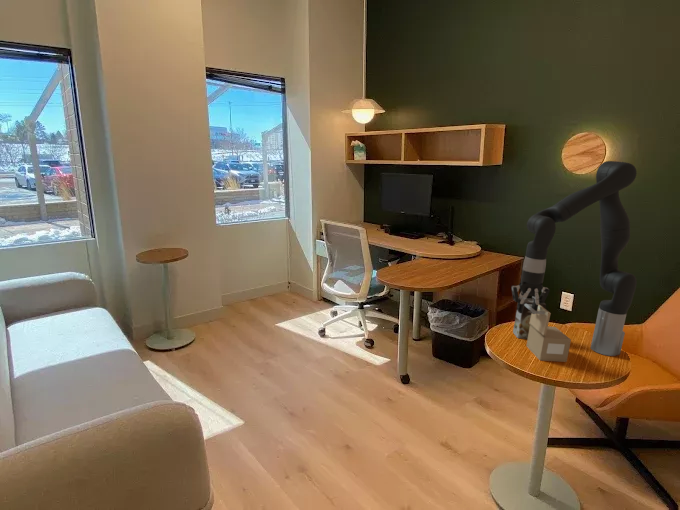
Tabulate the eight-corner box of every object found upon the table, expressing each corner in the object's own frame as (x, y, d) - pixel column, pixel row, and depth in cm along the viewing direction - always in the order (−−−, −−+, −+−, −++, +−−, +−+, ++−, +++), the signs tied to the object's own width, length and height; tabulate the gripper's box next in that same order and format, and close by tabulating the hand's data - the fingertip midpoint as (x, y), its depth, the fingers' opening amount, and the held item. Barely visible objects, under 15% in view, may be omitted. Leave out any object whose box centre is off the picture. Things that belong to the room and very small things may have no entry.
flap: (536, 302, 162) (522, 300, 162) (551, 313, 151) (536, 311, 151) (531, 324, 165) (517, 323, 165) (545, 337, 153) (530, 335, 153)
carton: (551, 347, 167) (555, 326, 165) (566, 362, 155) (571, 339, 153) (526, 346, 167) (530, 325, 165) (539, 360, 155) (544, 338, 153)
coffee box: (517, 338, 174) (523, 302, 170) (512, 332, 180) (518, 297, 176) (539, 340, 173) (546, 304, 169) (534, 334, 179) (540, 299, 175)
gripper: (548, 267, 157) (540, 310, 161) (510, 265, 157) (503, 308, 161) (558, 273, 150) (549, 317, 153) (518, 271, 150) (511, 315, 154)
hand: (526, 312), depth 157 cm, fingers open, 4 cm apart
